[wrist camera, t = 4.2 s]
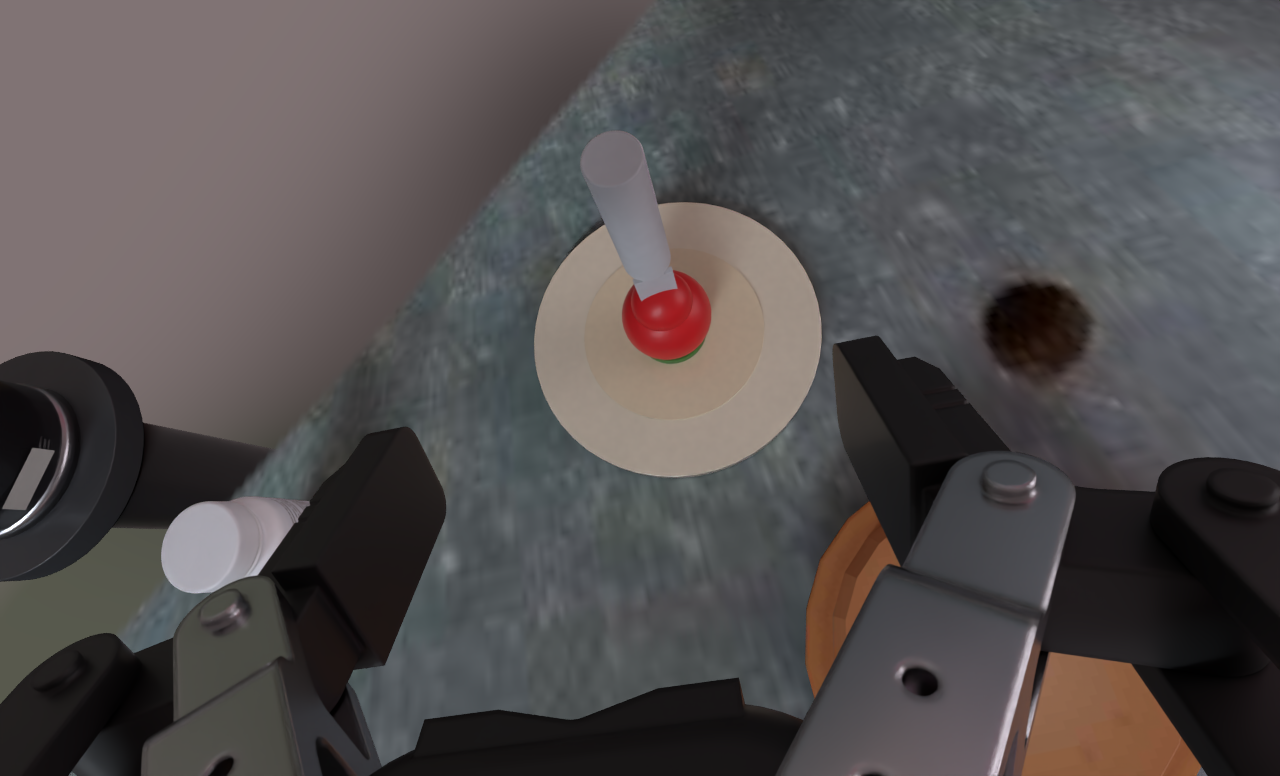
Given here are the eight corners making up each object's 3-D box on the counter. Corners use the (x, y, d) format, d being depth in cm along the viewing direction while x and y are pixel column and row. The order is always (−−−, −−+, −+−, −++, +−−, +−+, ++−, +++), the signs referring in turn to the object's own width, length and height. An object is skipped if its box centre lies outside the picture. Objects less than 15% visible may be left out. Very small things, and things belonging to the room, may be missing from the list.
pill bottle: (308, 491, 36) (183, 477, 28) (375, 519, 35) (265, 511, 27) (272, 571, 36) (134, 579, 28) (340, 601, 34) (216, 619, 26)
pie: (874, 421, 32) (896, 400, 27) (1205, 568, 28) (1299, 573, 23) (745, 705, 30) (744, 735, 25) (1084, 907, 26) (1161, 989, 21)
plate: (505, 443, 35) (499, 440, 34) (577, 193, 38) (573, 185, 37) (790, 509, 32) (791, 508, 31) (843, 228, 35) (845, 220, 34)
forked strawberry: (644, 382, 34) (558, 247, 18) (621, 307, 35) (524, 123, 20) (724, 355, 33) (706, 195, 18) (699, 281, 35) (661, 72, 19)
